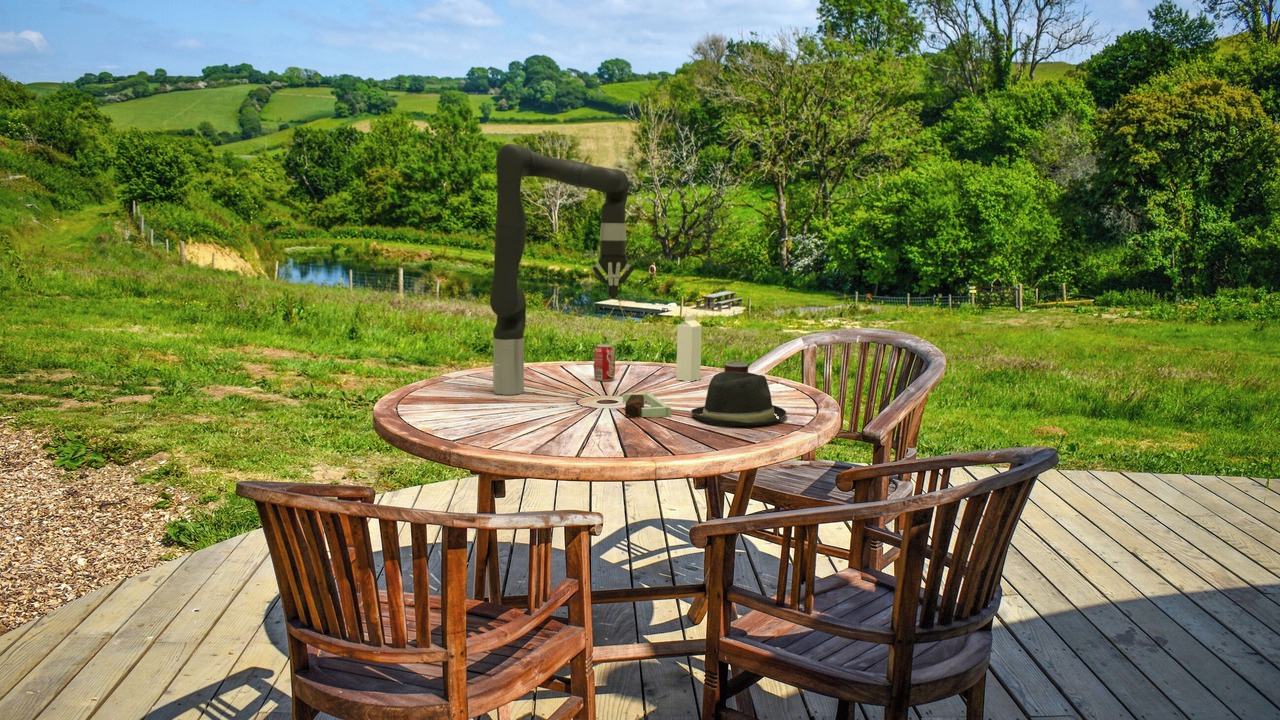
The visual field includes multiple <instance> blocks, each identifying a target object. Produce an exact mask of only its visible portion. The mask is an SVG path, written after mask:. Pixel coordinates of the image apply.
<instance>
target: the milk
mask: <svg viewBox="0 0 1280 720" xmlns="http://www.w3.org/2000/svg"><path fill="white" fill-rule="evenodd" d="M702 328H703V327H702V324H701V323H699V321H697V320H696V316H695V315H690V316H688V315H687V316H684V321H682V322H681V323H680V324H678V325H677V332H676V334H677V336H676V337H677V338H676V340H677V341H676V377H675V378H676V379H675V380H676V381H678V380H684V381H693V380H697V379H700V380H701V370H702V369H701V367H702V366H701V365H702V363H701V361H702ZM684 381H683V382H684Z"/></svg>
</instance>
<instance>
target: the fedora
mask: <svg viewBox="0 0 1280 720" xmlns="http://www.w3.org/2000/svg"><path fill="white" fill-rule="evenodd" d="M772 402H773V401H772V395H771V391H770V387H769V384H768V381H767V377H766V376H765V375H762V374H756V373H752V372H749V371H748V372H734V371H726V372H724V371H721V372H719V373H716V374H715V375H713V376H712V378H711V379H710V381H709V385H708V388H707V392H706V398H705V402H704V406H699V407H696V408H693V409H691V410H690V412H691V414H692V415H693V417H694V418H696V419H697V420H699V421H701V422H703V423H705V424H709V425H713V424H714V426H715V425H716V426H721V425H723V426H724V427H757V426H764V425H766V426H767V425H771V424H776V423H778V422H779V421H781V420H782V419H784V417H785V416H786V415H787V411H786V410H785V409H784V408H782V407H779V406H777V405H773V403H772ZM702 413H703V414H702ZM774 413H775V414H777V416H779V419H777V418H776V416H775V415H774ZM700 414H701V415H700ZM723 426H722V427H723Z"/></svg>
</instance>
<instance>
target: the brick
mask: <svg viewBox="0 0 1280 720" xmlns="http://www.w3.org/2000/svg"><path fill="white" fill-rule="evenodd" d="M624 406H625V409H624V413H625V414H624V415H625V416H626V417H625V418H628V417H630V418H633V417H638V418H640V417H641V408H645V402H644V396H643V395H631V396H630V397H629V399H628V400H627V401H626V403H625V405H624ZM639 416H640V417H639Z"/></svg>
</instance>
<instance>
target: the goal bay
mask: <svg viewBox="0 0 1280 720" xmlns="http://www.w3.org/2000/svg"><path fill="white" fill-rule="evenodd" d="M631 395H643V396H644V401H646V402H647V403H646V402H645V403H646V404H648V403H649V404H650V405H651V406H650V405H649V404H648V405H649V406H650V407H644V408H641V415H640V417H641V416H642V417H651V418H666V417H667V418H668V417H671V416H672V407H671V406H669V405H668V404H666V403H665V402H663V401H662V400H661V399H659V398H658V397H656V396H654V395H653V394H652V393H650V392H642V393H641V392H640V393H638V392H636V393H623V394H622V403H623V402H626V401H627V400H628V399H629V397H630V396H631ZM642 417H641V418H642Z"/></svg>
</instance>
